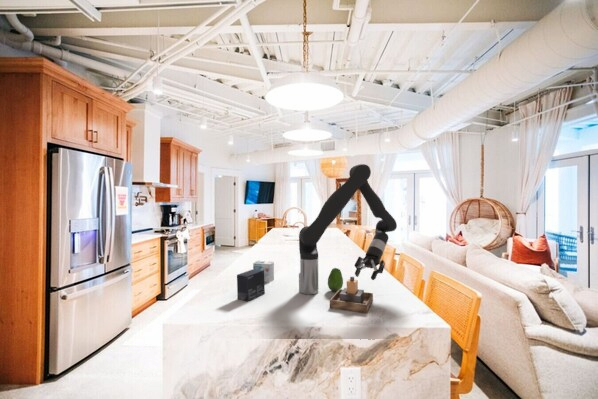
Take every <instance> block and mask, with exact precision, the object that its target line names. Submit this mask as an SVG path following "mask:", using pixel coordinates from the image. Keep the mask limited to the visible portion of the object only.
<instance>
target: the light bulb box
mask: <svg viewBox="0 0 598 399" xmlns="http://www.w3.org/2000/svg"><path fill="white" fill-rule="evenodd" d="M252 265H253V266H252V267H253V268H252V270H253V269H258V270H264V283H268V284H269V283H271V282H273V281H274V280H275V261H271V260H269V261H267V260H257V261H254V262H253V263H252Z"/></svg>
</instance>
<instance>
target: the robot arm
mask: <svg viewBox="0 0 598 399" xmlns="http://www.w3.org/2000/svg"><path fill="white" fill-rule="evenodd" d="M371 173H372V172H371V168H370V166H369V165H368V164H364V163H363V164H362V163H360V164H356V165H354V166H352V167H351V168H350V170H349V172H348V174H349V177H348V179H347V180H346V181H345V182H344V183H343V184H342V185H340V186H339V187H338V188H337V189H336V190H334V192H333V193H332V194H331V195H330V196H329V197H328V198H327V200H326V201H325V202H324V204H323V205H322V207H321V210H320V211H319V213H318V215H317V217H316V218H315V220H313V222H312V223H310V225H307V226H304V227H302V228H301V229H300V231H299V234H298V246H299V248H298V249H299V262H300V263H299V265H300V268H299V269H300V271H299V273H298V292H299V293H301V294H304V295H315V294H317V293H319V252H318V248H317V246H318V245H317V243H318V242H319V241H320V239H321V238H322V236H323V234H324V233H325V232H326V231H327V229H328V228H329V226H330V225H331V224H332V223H333V222H334V221H335V219H336V218H337V217H338V215H340V214H341V213H342V211H343V210H344V209H345V207H346V206H347V204H348V203H349V202H350V201H351V199H352V198H353V196H354V195H355V194H356V192H357V191H358V190H359V192H360V194H361V195H362V196H363V198H364V200H365V202H366V203H367V205H368V207H369V209H370V211H371V214H372V215H373V217H375V218H376V219H380V220H378V221H377V223H376V225H375V230H374V232H375V233H374V237H373V238H372V241H371V242H370V244H369V246H368V249H367V250H366V253H365V257H361V256H358V257H357V259H356V261H355V264H354V267H355V269H356V270H355V271H354V275H355V277H357V278H358V277H359V276H360V273H361V271H362V270H364V269H366V268H369V269H373V272H372V274H371V276H370V279H371V281H375V280H376V279H377V276H378V274H383V273H384V272H383V271H384V268H385V266H386V262H385V261H384V259H382V257H383V254H384V252H385V249H386V246H387V244H388V241H389V235H388V233H390V232H394V231H396V229H397V227H398V225H397V220H396V219H395V218H394V217H393V216H392V215H391V213H390V212H389V211H388V210H387V209H386V207H385V204H384V203H383V201H382V200H381V198H380V197H379V195H378V194H377V193H376V192H375V191H374V189H372V186H371V185H370V183H369V181H368V180H369V178H370V176H371V175H372V174H371ZM381 259H382V260H381ZM378 265H379V266H378ZM377 266H378V267H377Z"/></svg>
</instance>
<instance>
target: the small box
mask: <svg viewBox="0 0 598 399" xmlns="http://www.w3.org/2000/svg"><path fill="white" fill-rule="evenodd" d="M265 286H266V285H265V282H264V270H258V269H253V268H252V269H249V270H247V271H244V272H240V273H238V274H236V288H237V295H236V296H237V300H240V301H244V302H250V301H252V300H254V299H256V298H258V297H260V296H262V295H265V291H266V290H265Z"/></svg>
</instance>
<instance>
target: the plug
mask: <svg viewBox="0 0 598 399" xmlns="http://www.w3.org/2000/svg"><path fill="white" fill-rule="evenodd" d="M358 285H359V283H358V279H355V276H349V278H348V280H346V288H347V293H350V294H357V293H358V288H359V286H358Z"/></svg>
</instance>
